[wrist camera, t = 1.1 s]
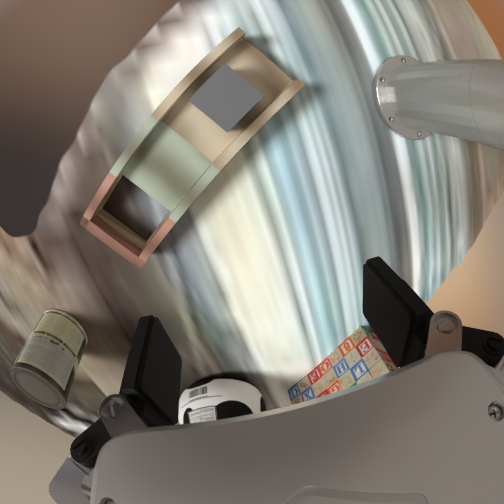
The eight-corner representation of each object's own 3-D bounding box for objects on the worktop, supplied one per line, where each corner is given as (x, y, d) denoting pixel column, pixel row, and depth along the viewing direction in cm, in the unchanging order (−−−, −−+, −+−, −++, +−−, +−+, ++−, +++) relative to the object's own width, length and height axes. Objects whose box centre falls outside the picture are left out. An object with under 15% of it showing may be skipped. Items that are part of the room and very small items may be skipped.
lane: (235, 37, 24) (238, 27, 21) (294, 89, 28) (304, 85, 24) (91, 212, 31) (79, 223, 28) (146, 253, 35) (140, 268, 31)
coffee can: (94, 353, 42) (75, 415, 30) (51, 346, 40) (27, 401, 28) (79, 310, 38) (48, 375, 25) (33, 305, 36) (-1, 361, 23)
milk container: (240, 417, 57) (251, 483, 41) (169, 405, 51) (167, 477, 35) (277, 378, 51) (297, 456, 35) (193, 360, 45) (193, 452, 29)
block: (223, 70, 24) (224, 63, 21) (257, 99, 26) (263, 96, 23) (191, 103, 26) (188, 100, 22) (225, 131, 28) (227, 132, 24)
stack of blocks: (306, 395, 56) (321, 439, 45) (287, 389, 53) (300, 437, 42) (377, 333, 49) (405, 377, 38) (360, 324, 47) (390, 372, 36)
